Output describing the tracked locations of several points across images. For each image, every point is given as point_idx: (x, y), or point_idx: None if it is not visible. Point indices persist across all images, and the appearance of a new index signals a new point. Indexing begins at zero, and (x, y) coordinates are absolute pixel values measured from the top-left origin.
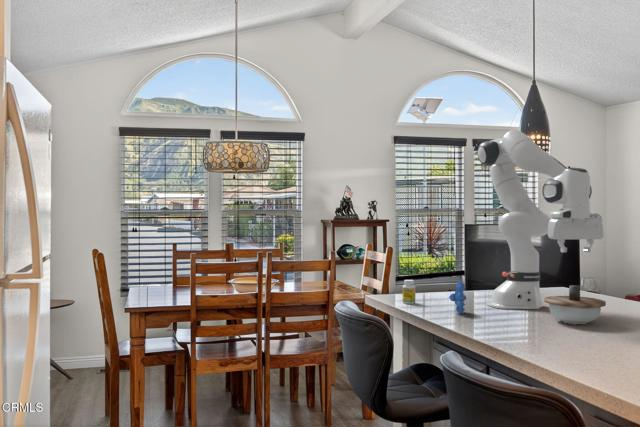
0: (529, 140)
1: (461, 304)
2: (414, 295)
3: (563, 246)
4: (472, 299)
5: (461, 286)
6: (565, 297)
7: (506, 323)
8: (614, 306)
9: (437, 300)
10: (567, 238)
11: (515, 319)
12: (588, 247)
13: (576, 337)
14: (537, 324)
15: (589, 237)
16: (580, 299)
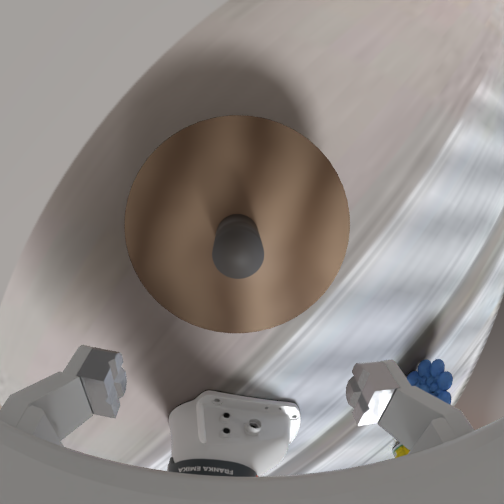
0: None
1: (442, 362)
2: (404, 452)
3: (418, 391)
4: (273, 473)
5: (449, 400)
6: (227, 297)
7: (420, 252)
8: (18, 358)
9: (342, 465)
10: (447, 448)
11: (366, 293)
12: (88, 377)
13: (378, 51)
14: (364, 218)
15: (39, 458)
16: (201, 241)
